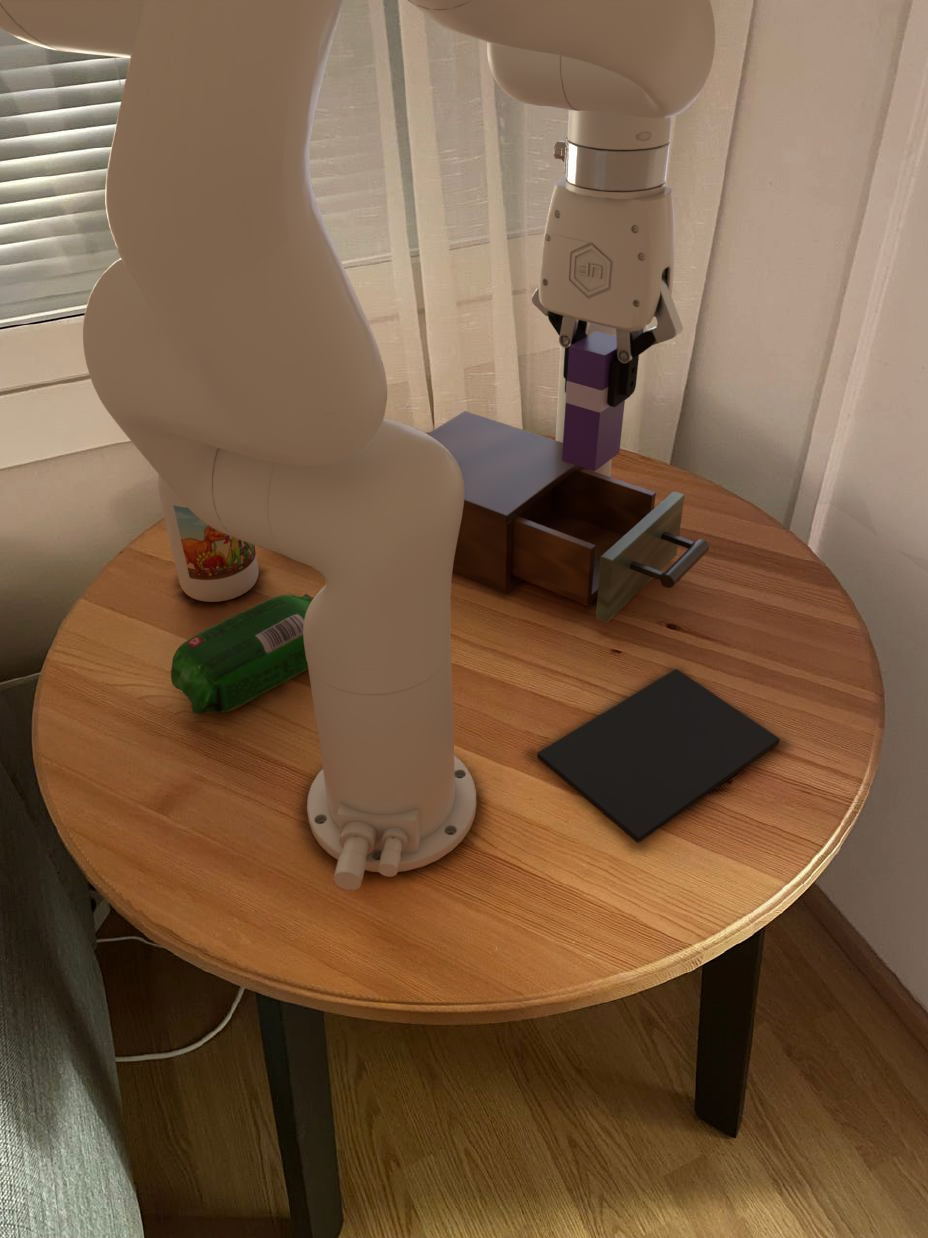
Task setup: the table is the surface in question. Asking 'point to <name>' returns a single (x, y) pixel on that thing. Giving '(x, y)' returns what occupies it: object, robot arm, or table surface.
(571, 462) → the snack carton
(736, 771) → the mat
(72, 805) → the table surface
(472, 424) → the cabinet
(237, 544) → the milk bottle
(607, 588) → the drawer
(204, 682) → the snack package
